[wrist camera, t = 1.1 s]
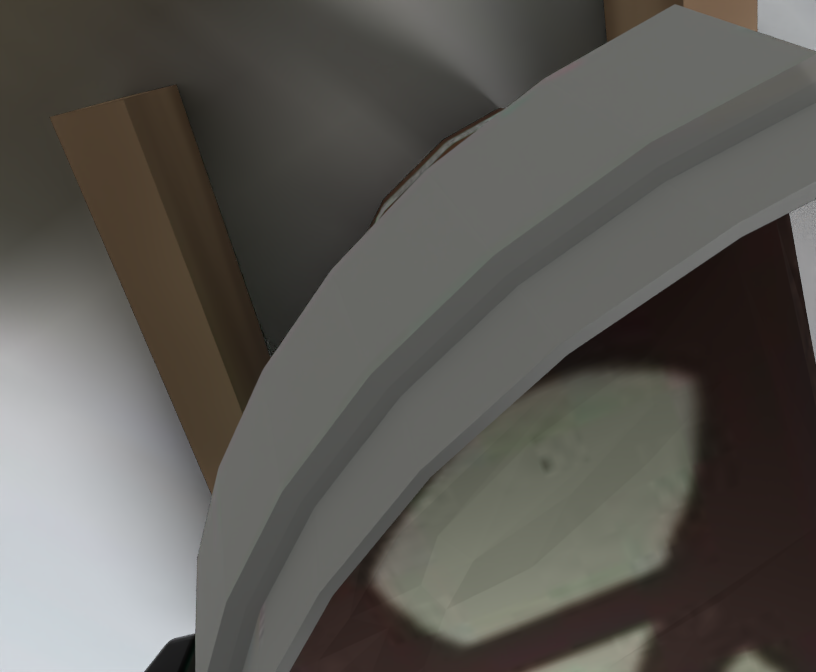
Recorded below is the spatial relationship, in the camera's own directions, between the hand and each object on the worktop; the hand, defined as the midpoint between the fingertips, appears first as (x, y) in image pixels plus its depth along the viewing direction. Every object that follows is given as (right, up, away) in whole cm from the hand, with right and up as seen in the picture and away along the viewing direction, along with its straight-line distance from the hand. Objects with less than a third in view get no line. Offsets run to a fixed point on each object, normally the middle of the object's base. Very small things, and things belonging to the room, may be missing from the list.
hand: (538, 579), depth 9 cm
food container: (-1, +2, +6) cm, 6 cm away
